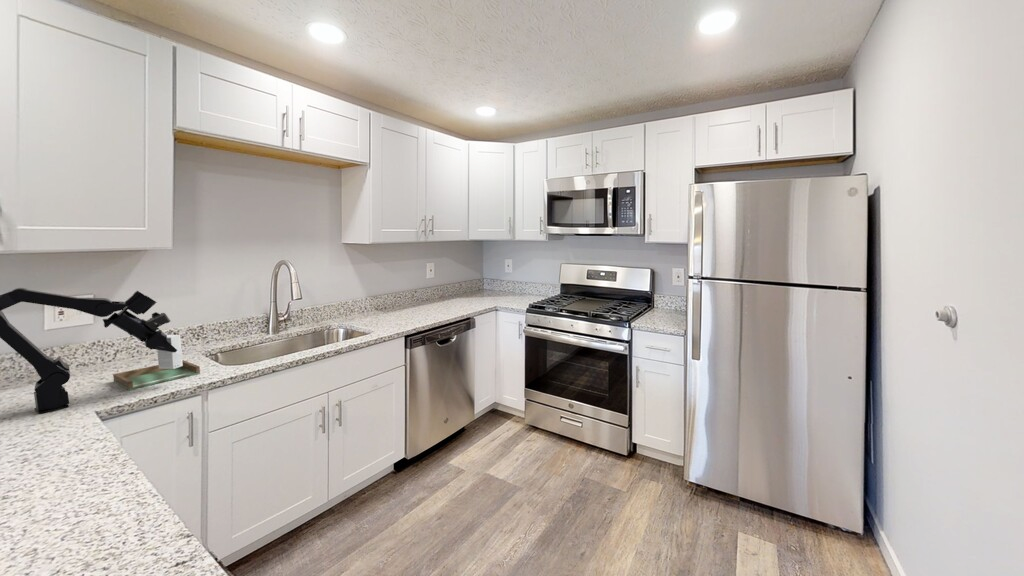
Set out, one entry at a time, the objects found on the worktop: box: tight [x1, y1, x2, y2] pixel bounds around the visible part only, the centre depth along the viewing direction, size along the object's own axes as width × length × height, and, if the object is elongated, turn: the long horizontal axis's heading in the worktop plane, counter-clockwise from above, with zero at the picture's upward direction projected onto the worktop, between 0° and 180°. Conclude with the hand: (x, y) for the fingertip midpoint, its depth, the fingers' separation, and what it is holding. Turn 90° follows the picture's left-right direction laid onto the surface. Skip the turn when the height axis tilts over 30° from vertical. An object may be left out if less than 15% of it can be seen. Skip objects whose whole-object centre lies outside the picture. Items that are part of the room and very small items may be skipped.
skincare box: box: [156, 334, 183, 369], centre depth 154 cm, size 6×4×12 cm
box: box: [112, 359, 201, 391], centre depth 163 cm, size 22×16×3 cm
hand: (174, 349), depth 155 cm, fingers closed on skincare box, 7 cm apart
